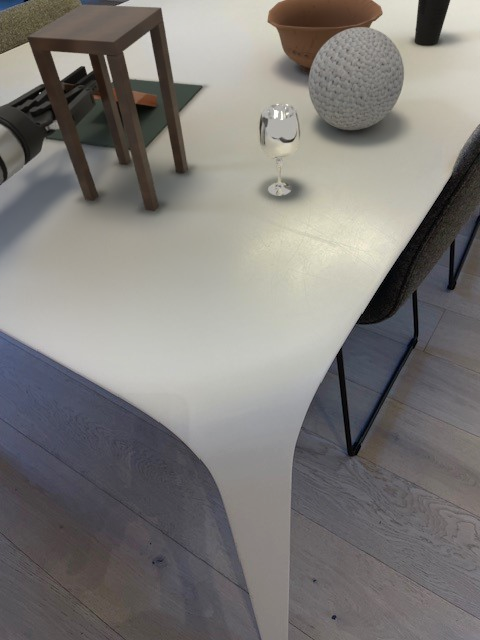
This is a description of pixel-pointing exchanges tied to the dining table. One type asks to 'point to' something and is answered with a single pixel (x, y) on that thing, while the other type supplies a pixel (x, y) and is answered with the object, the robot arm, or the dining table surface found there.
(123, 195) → the dining table surface
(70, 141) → the stand
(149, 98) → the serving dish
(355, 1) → the bowl
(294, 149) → the wineglass
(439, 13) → the drinking cup
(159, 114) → the place mat
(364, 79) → the decorative ball
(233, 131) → the dining table surface
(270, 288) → the dining table surface
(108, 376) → the dining table surface
